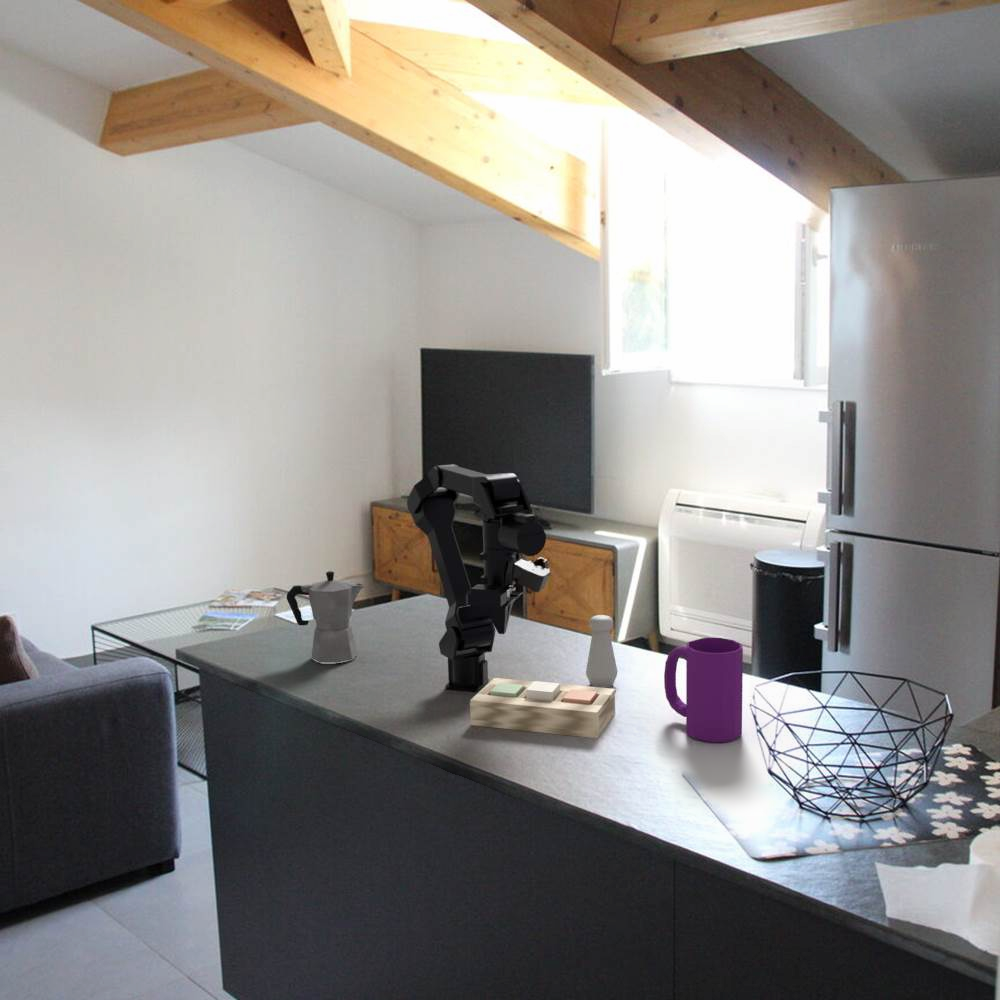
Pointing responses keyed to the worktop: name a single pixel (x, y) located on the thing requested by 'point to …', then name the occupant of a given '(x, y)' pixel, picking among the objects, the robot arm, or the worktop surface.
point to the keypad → (543, 711)
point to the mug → (708, 688)
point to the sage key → (507, 690)
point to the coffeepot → (329, 617)
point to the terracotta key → (580, 697)
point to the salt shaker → (601, 653)
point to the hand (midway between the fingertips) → (502, 633)
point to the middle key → (543, 691)
